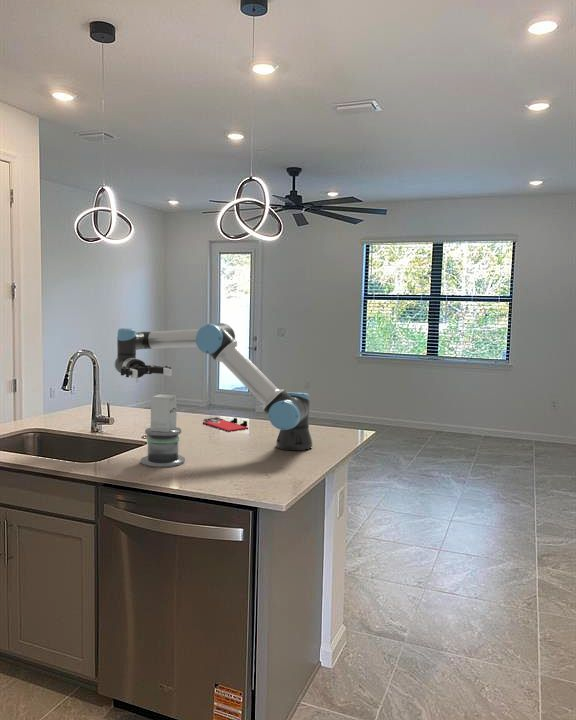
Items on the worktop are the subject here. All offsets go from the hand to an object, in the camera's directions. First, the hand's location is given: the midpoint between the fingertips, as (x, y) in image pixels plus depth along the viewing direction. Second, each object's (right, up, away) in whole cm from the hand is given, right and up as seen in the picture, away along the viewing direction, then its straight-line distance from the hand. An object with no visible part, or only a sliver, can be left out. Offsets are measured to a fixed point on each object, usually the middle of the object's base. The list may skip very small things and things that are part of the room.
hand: (154, 373), depth 222 cm
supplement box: (+5, -21, -6) cm, 22 cm away
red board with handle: (+19, -27, +66) cm, 74 cm away
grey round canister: (+5, -33, -5) cm, 33 cm away
